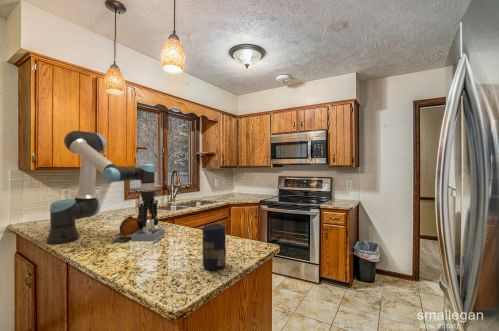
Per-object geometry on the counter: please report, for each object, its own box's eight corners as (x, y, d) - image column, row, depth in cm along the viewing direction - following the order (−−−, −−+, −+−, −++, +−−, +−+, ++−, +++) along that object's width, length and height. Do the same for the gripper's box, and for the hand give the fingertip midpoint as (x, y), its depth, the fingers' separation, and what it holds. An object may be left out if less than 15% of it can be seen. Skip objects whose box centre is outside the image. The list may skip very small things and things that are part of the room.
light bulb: (143, 238, 139) (141, 215, 139) (143, 236, 144) (141, 214, 144) (153, 236, 141) (151, 213, 141) (153, 235, 146) (151, 212, 146)
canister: (204, 263, 107) (203, 221, 107) (226, 261, 108) (225, 220, 108) (201, 272, 98) (201, 226, 98) (225, 271, 98) (225, 225, 98)
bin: (131, 243, 137) (131, 234, 137) (144, 236, 149) (143, 228, 149) (153, 243, 135) (153, 234, 135) (164, 237, 148) (164, 228, 148)
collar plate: (108, 245, 134) (107, 240, 134) (119, 239, 144) (119, 235, 144) (125, 245, 133) (125, 241, 133) (135, 240, 143) (135, 235, 143)
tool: (153, 243, 161) (161, 219, 165) (120, 237, 144) (130, 211, 148) (147, 240, 166) (154, 218, 170) (114, 235, 149) (123, 210, 153)
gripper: (141, 192, 133) (142, 235, 133) (163, 189, 149) (164, 228, 149) (131, 191, 136) (131, 234, 136) (153, 189, 152) (154, 227, 152)
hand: (148, 231), depth 142 cm, fingers closed on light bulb, 4 cm apart
